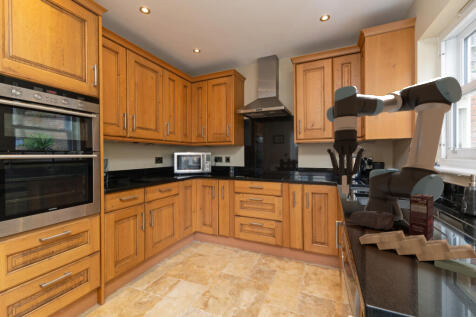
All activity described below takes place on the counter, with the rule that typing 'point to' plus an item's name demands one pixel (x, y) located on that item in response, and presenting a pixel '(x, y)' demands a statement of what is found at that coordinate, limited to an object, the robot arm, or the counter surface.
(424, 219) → the supplement box
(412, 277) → the counter surface
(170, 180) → the counter surface
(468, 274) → the grey-green domino
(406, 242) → the birch domino
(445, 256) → the birch domino
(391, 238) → the birch domino
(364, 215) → the perforated stone tool
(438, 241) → the birch domino
